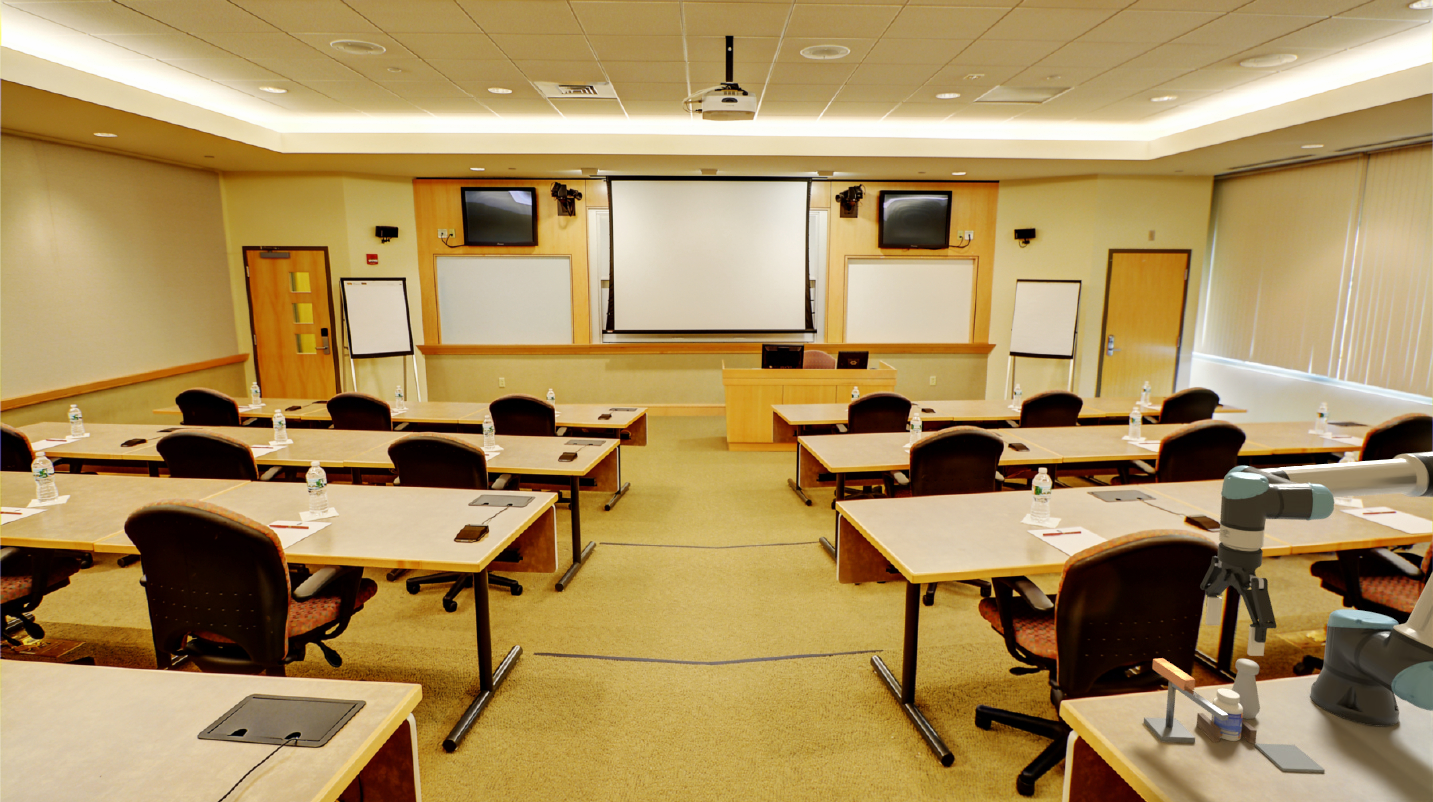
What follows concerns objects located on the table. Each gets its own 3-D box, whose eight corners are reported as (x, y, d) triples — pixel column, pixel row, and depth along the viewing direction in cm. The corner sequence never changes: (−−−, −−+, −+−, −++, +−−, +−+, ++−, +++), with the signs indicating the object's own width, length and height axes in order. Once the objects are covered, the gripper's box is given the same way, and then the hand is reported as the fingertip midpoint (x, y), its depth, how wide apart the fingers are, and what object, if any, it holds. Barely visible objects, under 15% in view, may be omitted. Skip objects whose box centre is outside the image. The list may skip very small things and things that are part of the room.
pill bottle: (1246, 742, 147) (1250, 701, 145) (1218, 740, 148) (1221, 698, 146) (1232, 727, 152) (1236, 687, 151) (1205, 725, 153) (1208, 685, 152)
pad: (1294, 747, 145) (1294, 744, 145) (1324, 772, 137) (1324, 769, 137) (1254, 745, 146) (1255, 743, 145) (1282, 770, 138) (1283, 768, 138)
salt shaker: (1257, 711, 158) (1262, 659, 156) (1260, 724, 153) (1266, 670, 151) (1226, 703, 161) (1230, 652, 159) (1228, 716, 156) (1233, 663, 154)
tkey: (1226, 765, 137) (1231, 703, 136) (1215, 766, 137) (1220, 704, 135) (1158, 713, 155) (1162, 658, 153) (1149, 714, 155) (1153, 658, 153)
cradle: (1236, 726, 152) (1237, 713, 152) (1255, 743, 146) (1256, 730, 146) (1196, 724, 153) (1197, 712, 153) (1213, 741, 147) (1214, 728, 147)
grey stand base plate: (1175, 723, 154) (1176, 718, 154) (1194, 742, 147) (1195, 737, 147) (1143, 722, 154) (1144, 717, 154) (1161, 741, 148) (1161, 736, 147)
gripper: (1186, 526, 157) (1180, 613, 159) (1264, 567, 132) (1255, 668, 135) (1220, 526, 156) (1214, 613, 159) (1304, 567, 131) (1295, 669, 134)
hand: (1233, 639), depth 147 cm, fingers open, 13 cm apart
